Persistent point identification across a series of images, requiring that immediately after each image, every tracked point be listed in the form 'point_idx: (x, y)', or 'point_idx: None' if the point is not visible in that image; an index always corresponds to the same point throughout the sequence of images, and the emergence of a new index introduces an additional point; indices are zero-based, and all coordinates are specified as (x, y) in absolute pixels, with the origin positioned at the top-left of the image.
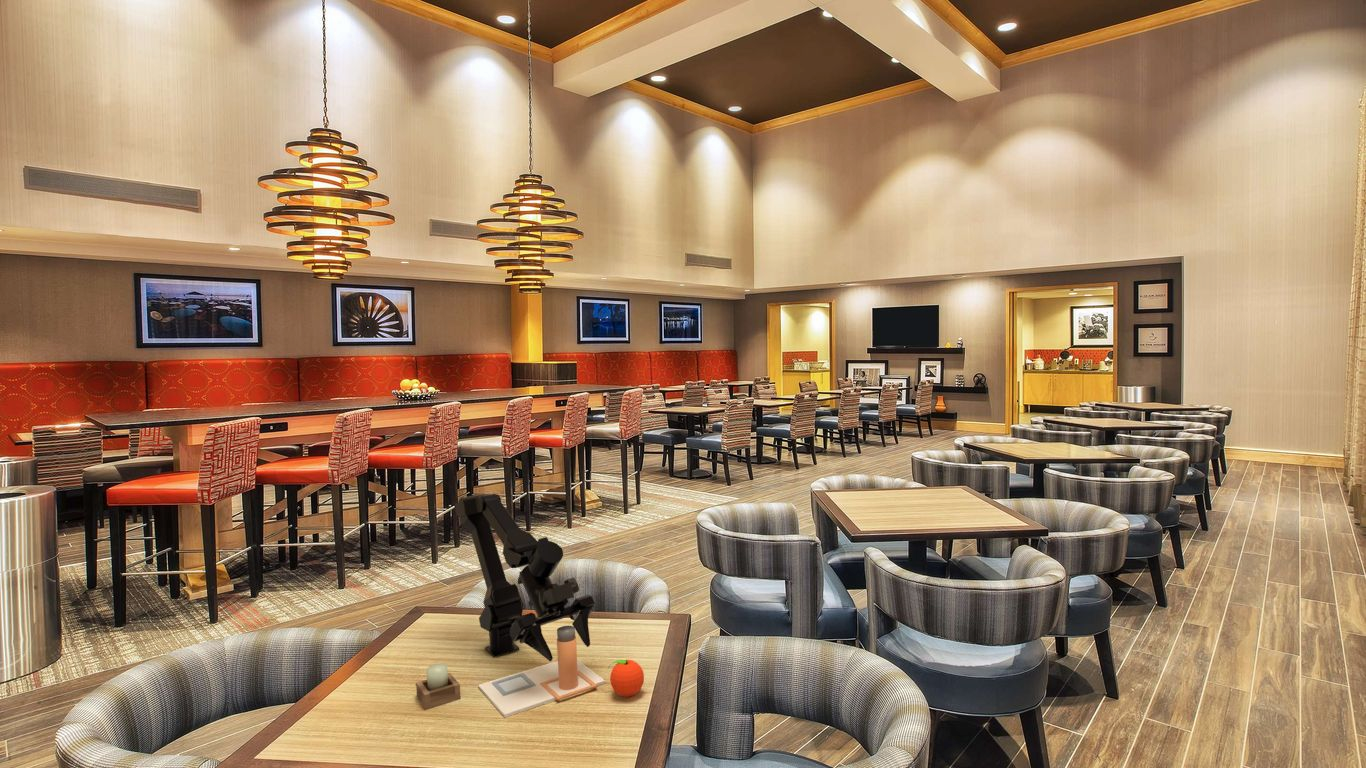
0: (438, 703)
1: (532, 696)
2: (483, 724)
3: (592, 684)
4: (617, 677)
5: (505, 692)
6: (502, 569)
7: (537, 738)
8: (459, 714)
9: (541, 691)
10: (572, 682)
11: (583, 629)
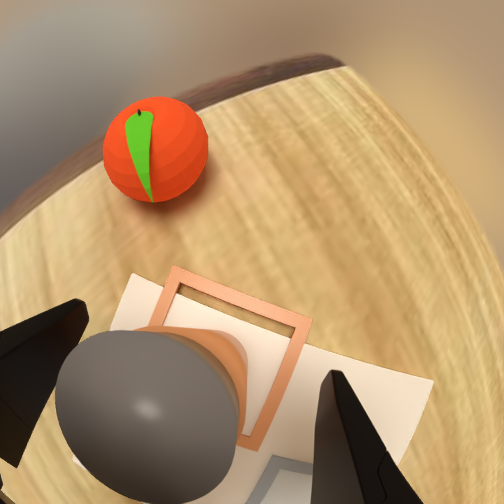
0: None
1: None
2: (461, 389)
3: (176, 284)
4: (199, 130)
5: None
6: None
7: (438, 232)
8: (447, 465)
9: (293, 412)
10: (224, 332)
11: (21, 353)
